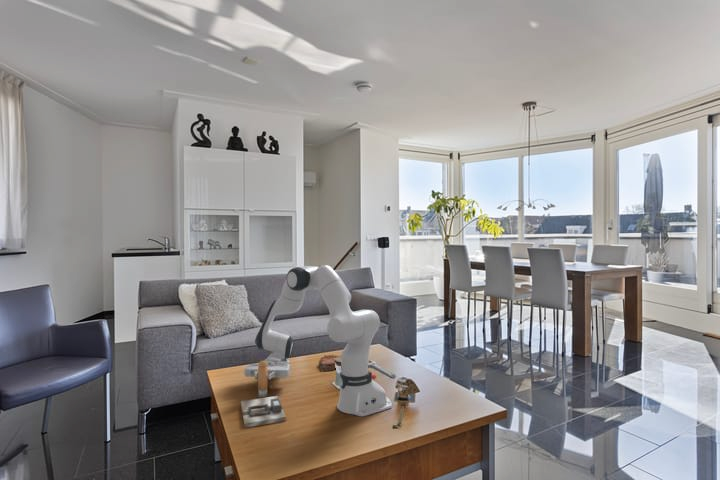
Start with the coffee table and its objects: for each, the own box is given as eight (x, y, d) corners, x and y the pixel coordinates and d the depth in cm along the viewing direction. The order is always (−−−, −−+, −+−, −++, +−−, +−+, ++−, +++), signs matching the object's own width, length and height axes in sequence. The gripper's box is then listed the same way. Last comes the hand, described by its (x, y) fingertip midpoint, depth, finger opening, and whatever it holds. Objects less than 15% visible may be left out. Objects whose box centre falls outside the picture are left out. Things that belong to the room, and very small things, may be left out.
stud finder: (278, 404, 156) (278, 398, 156) (281, 411, 150) (281, 405, 150) (270, 405, 155) (270, 399, 155) (273, 413, 149) (273, 406, 149)
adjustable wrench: (397, 378, 190) (397, 374, 190) (386, 380, 187) (386, 377, 187) (372, 362, 212) (372, 359, 212) (362, 364, 209) (362, 361, 209)
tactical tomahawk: (410, 433, 139) (410, 430, 139) (392, 429, 141) (392, 426, 141) (416, 406, 159) (416, 404, 159) (400, 403, 161) (400, 401, 161)
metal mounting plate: (277, 399, 165) (277, 393, 165) (285, 420, 146) (285, 414, 146) (241, 404, 159) (241, 399, 159) (244, 427, 141) (244, 421, 141)
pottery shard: (317, 362, 213) (317, 355, 213) (344, 359, 217) (344, 352, 217) (320, 372, 198) (320, 364, 197) (350, 369, 201) (350, 362, 201)
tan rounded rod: (266, 393, 171) (266, 358, 171) (268, 396, 167) (268, 361, 167) (257, 394, 170) (257, 359, 169) (258, 398, 166) (258, 362, 166)
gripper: (250, 359, 182) (238, 369, 168) (292, 360, 180) (284, 370, 167) (250, 372, 182) (238, 383, 168) (292, 373, 180) (284, 385, 167)
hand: (262, 377), depth 167 cm, fingers closed on tan rounded rod, 4 cm apart
